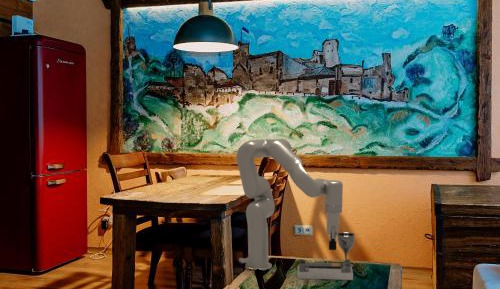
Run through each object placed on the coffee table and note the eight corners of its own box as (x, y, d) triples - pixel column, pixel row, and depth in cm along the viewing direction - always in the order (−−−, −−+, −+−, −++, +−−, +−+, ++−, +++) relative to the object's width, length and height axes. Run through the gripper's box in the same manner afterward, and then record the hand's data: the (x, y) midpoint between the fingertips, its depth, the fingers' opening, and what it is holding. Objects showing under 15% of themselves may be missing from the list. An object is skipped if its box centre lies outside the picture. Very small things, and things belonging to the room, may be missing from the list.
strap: (302, 268, 243) (302, 265, 243) (302, 265, 248) (302, 262, 248) (343, 268, 240) (343, 266, 240) (342, 265, 245) (342, 263, 245)
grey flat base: (297, 278, 241) (297, 262, 240) (298, 272, 251) (298, 256, 250) (353, 280, 238) (352, 264, 237) (351, 273, 248) (351, 258, 247)
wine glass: (355, 267, 257) (355, 235, 256) (338, 267, 257) (338, 236, 256) (352, 263, 265) (352, 232, 264) (336, 263, 265) (336, 232, 264)
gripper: (324, 205, 250) (323, 245, 251) (325, 211, 235) (324, 253, 236) (341, 205, 249) (340, 245, 250) (342, 212, 234) (341, 254, 235)
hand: (332, 249), depth 243 cm, fingers closed
